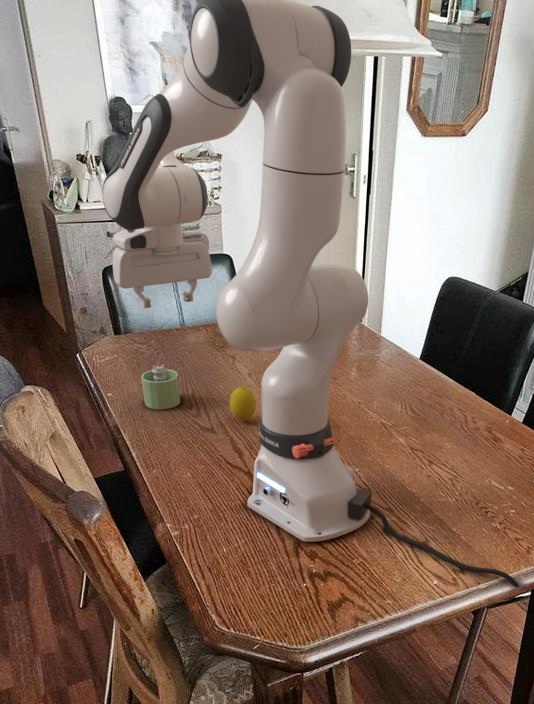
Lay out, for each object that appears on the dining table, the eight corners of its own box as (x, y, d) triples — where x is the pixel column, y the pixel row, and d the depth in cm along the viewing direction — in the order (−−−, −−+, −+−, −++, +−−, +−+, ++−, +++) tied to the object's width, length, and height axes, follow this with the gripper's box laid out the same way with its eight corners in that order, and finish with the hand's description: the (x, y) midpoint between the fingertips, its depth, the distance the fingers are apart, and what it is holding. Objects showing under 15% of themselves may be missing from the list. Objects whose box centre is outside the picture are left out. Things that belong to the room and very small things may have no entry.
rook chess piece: (161, 405, 140) (157, 371, 136) (148, 399, 143) (144, 366, 138) (176, 399, 144) (173, 366, 139) (163, 393, 146) (160, 361, 142)
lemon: (235, 414, 139) (233, 380, 135) (259, 417, 139) (258, 383, 134) (227, 424, 135) (225, 390, 131) (251, 428, 134) (250, 393, 130)
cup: (186, 404, 143) (183, 377, 139) (152, 412, 139) (149, 385, 135) (172, 392, 148) (169, 366, 145) (139, 399, 144) (135, 373, 141)
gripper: (201, 228, 133) (206, 294, 140) (104, 236, 122) (115, 307, 130) (214, 233, 129) (219, 301, 136) (116, 241, 118) (126, 314, 125)
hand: (167, 304), depth 133 cm, fingers open, 8 cm apart
